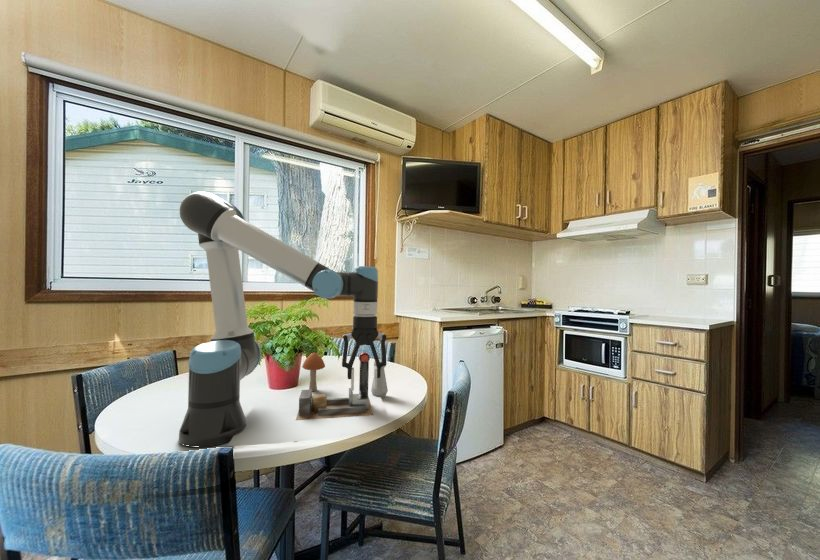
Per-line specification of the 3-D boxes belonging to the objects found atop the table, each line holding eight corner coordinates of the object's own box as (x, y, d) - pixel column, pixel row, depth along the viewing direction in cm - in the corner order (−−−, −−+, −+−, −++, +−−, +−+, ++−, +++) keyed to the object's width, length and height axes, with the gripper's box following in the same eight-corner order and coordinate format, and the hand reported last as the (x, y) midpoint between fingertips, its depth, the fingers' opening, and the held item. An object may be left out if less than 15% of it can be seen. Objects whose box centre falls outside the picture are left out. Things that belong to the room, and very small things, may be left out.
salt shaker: (384, 400, 116) (385, 362, 116) (368, 399, 117) (369, 361, 117) (389, 395, 122) (389, 358, 122) (374, 393, 123) (374, 357, 123)
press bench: (295, 424, 95) (296, 402, 95) (300, 406, 109) (301, 387, 109) (373, 419, 100) (374, 398, 100) (369, 402, 114) (369, 384, 114)
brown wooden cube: (311, 412, 101) (311, 399, 101) (312, 407, 105) (312, 394, 105) (326, 411, 102) (326, 398, 102) (326, 406, 106) (326, 393, 106)
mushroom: (316, 398, 116) (317, 355, 116) (296, 395, 119) (297, 353, 119) (328, 392, 124) (329, 350, 124) (310, 389, 126) (311, 349, 126)
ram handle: (349, 410, 102) (350, 354, 103) (348, 403, 108) (349, 351, 108) (369, 408, 104) (370, 354, 104) (368, 402, 109) (369, 350, 109)
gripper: (333, 316, 101) (331, 394, 101) (397, 316, 105) (396, 390, 105) (333, 314, 108) (332, 386, 108) (393, 314, 112) (392, 383, 112)
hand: (363, 388), depth 106 cm, fingers open, 6 cm apart
